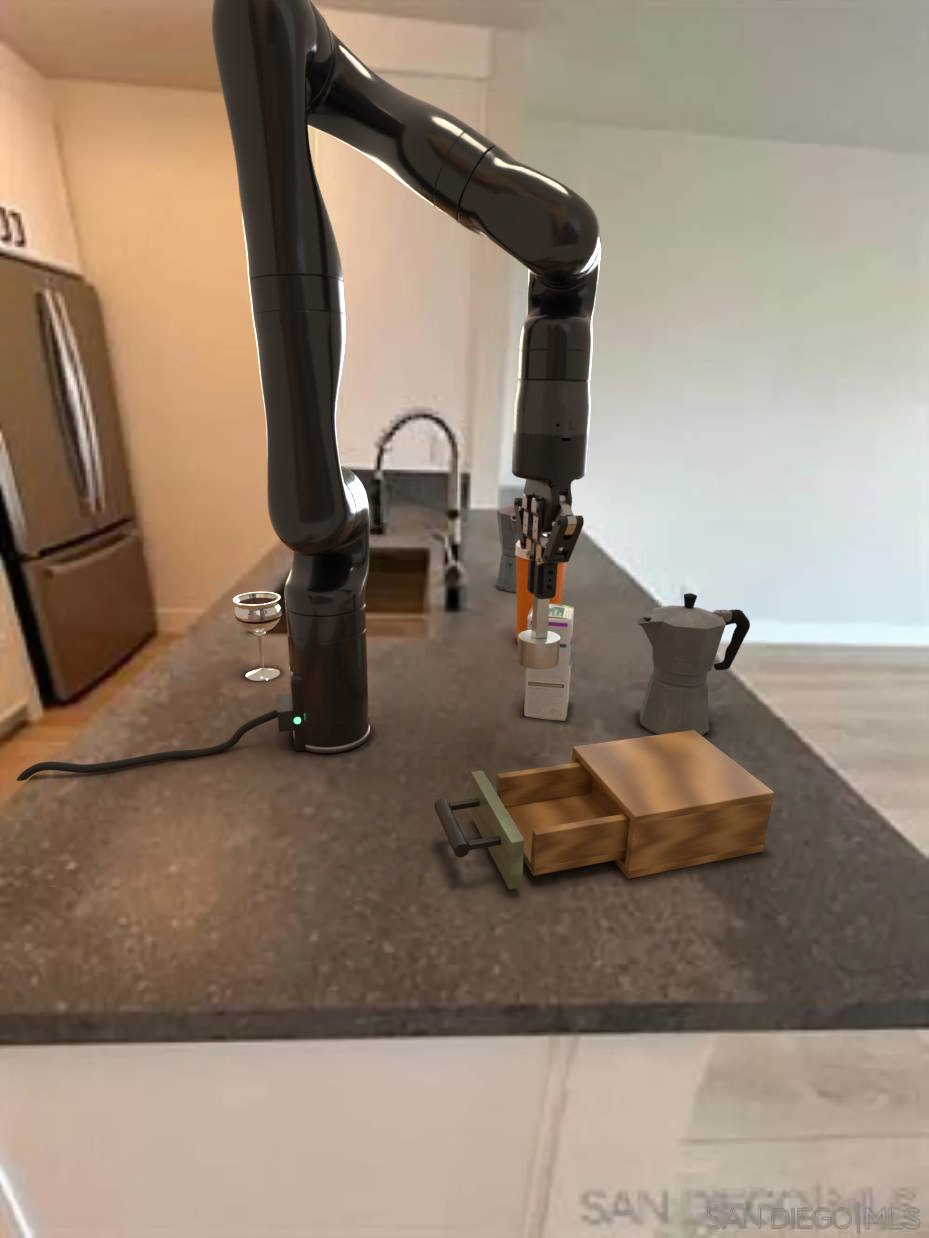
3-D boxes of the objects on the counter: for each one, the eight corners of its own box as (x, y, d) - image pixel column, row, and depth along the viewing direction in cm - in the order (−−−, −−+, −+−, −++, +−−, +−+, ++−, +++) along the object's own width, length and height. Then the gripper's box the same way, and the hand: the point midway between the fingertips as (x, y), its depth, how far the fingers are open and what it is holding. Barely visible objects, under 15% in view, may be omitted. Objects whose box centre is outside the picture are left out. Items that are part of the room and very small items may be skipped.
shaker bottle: (570, 639, 119) (579, 527, 112) (548, 655, 112) (556, 536, 105) (525, 630, 123) (531, 521, 117) (501, 644, 116) (506, 529, 110)
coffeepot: (642, 744, 84) (658, 607, 78) (612, 710, 93) (625, 584, 87) (753, 735, 87) (777, 602, 81) (714, 703, 95) (733, 581, 90)
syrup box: (566, 722, 89) (574, 618, 85) (522, 717, 90) (527, 614, 86) (568, 703, 94) (576, 605, 90) (526, 699, 96) (532, 601, 91)
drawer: (460, 899, 56) (461, 851, 55) (428, 819, 67) (428, 777, 65) (647, 862, 61) (653, 817, 60) (590, 793, 72) (594, 754, 70)
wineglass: (260, 662, 106) (254, 589, 102) (295, 670, 104) (290, 595, 100) (229, 677, 100) (222, 600, 97) (265, 686, 98) (259, 608, 94)
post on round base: (526, 671, 73) (532, 553, 68) (511, 655, 77) (516, 544, 73) (565, 667, 74) (573, 551, 70) (548, 652, 78) (555, 542, 74)
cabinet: (627, 879, 60) (635, 816, 58) (568, 801, 72) (572, 746, 70) (763, 851, 65) (774, 792, 62) (686, 781, 76) (693, 729, 74)
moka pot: (490, 594, 144) (493, 501, 138) (498, 576, 159) (502, 491, 152) (534, 597, 143) (540, 503, 136) (539, 579, 157) (544, 493, 151)
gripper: (493, 425, 72) (488, 580, 78) (542, 433, 60) (532, 617, 66) (557, 425, 74) (548, 577, 80) (618, 433, 62) (602, 612, 68)
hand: (541, 594), depth 73 cm, fingers closed on post on round base, 1 cm apart
